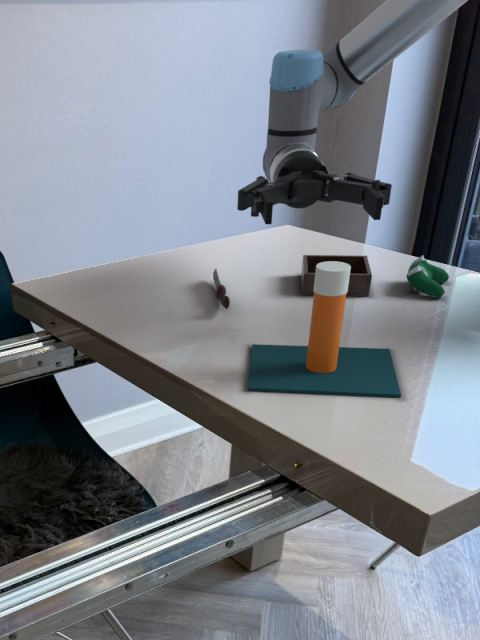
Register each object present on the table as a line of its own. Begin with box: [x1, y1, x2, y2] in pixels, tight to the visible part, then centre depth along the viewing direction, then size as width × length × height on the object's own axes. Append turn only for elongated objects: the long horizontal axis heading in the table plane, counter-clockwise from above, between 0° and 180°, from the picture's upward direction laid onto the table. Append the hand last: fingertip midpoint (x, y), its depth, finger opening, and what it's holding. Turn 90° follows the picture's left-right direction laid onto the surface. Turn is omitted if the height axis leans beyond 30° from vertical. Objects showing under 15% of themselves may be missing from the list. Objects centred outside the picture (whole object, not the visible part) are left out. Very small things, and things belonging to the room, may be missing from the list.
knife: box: [212, 268, 231, 310], centre depth 125 cm, size 18×2×3 cm, turn 179°
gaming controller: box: [406, 255, 450, 299], centre depth 123 cm, size 9×4×6 cm
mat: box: [247, 343, 402, 398], centre depth 101 cm, size 18×14×1 cm
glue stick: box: [306, 261, 351, 373], centre depth 97 cm, size 4×4×13 cm
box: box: [300, 254, 373, 297], centre depth 127 cm, size 10×10×3 cm
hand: (323, 211), depth 99 cm, fingers open, 13 cm apart
